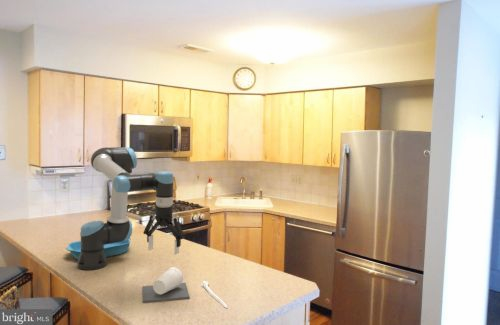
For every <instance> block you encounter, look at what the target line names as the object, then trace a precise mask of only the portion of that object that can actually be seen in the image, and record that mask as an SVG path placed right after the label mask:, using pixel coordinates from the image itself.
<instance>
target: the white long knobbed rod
mask: <svg viewBox="0 0 500 325" xmlns="http://www.w3.org/2000/svg"><path fill="white" fill-rule="evenodd" d="M209 285H210V282H209V281H208V280H203V281H202V282H201V283H200V287H201V288H204V289H205V291H206V292H207V293H208V294H209V296H211V297H212V298H213V299H214V300H215V301H217V302H218V303H219V304H220V305H221V306H222V307H223V308H225V309H228V305H227V304H226V303H225V301H224V300H222V299H221V297H219V296H218V295H217V294H216V293H214V292H213V290H212V289H211V288H210V287H209Z"/></svg>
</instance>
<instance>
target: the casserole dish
mask: <svg viewBox="0 0 500 325" xmlns="http://www.w3.org/2000/svg"><path fill="white" fill-rule="evenodd" d="M130 244H131V237H130V238H129V239H128V240H127V241H123V242H117V243H111V244H105V245H104V252H105V255H106V258H108V257H109V258H110V257H113V256H119V255H121V254H124V253H126V252H127V251H128V250H129V248H130ZM65 249H66V251H68V252H70V255H71V256H73V258H75V260H77V261H78V259H79V256H80V253H81V240H76V241H71V242H69V243H68V246H66V247H65Z"/></svg>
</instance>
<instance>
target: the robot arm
mask: <svg viewBox="0 0 500 325" xmlns="http://www.w3.org/2000/svg"><path fill="white" fill-rule="evenodd" d="M90 164H91V167H92V168H93V169H94V170H95V171H96V172H97V173H98V172H99V173H101V174H103V175H104V176H105V177H107V179H109V180H110V181H111V193H110V194H111V195H110V212H109V216H108V217H107V218H106V222H104V221H103V220H93V221H88V222H86V223H84V224H83V225H81V227H80V234H79V235H80V236H79V237H80V241H81V253H80V256H79V259H78V260H77V265H76V266H77V269H79V270H84V271H94V270H99V269H102V268H105V267H106V266H107V265H108V257H106V255H105V252H104V245H105V244H111V243H117V242H123V241H127V240H128V239H129V238H131V237H132V235H133V223H132V221H131V220H130V219H129V217H128V216H127V211H128V197H129V196H128V193H133V192H143V191H155V214H150V215H149V220H148V221H147V223H146V226H145V227H144V229H143V234H144V235H146V241H147V245H148V247H147V248H148V251H152V250H154V234H153V233H154V232H155V231H156V230H157V229H158V227H165V228H166V227H167V229H169V230H170V232H171V234H172V236H174V251H173V252H174V255H178V254H180V247H181V245H182V241H181V240H183V239H185V233H184V231H183V229H182V226H181V224H180V219H179V217H178V216H176V217H173V213H174V211H173V210H174V207H173V204H174V173H173V171H172V172H171V171H167V170H165V171H164V170H163V171H161V170H159V171H157V172H156V173H155V172H148V173H147V172H146V173H143V174H133V169H135V168H136V167H137V165H138V159H137V154H136V152H135V150H134V149H133V148H131V147H124V146H121V147H119V146H118V147H117V146H116V147H112V146H111V147H100V148H98V149H97V150H94V152H93V153H92V155H91V157H90ZM154 221H156V222H155V223H154ZM153 224H154V225H153ZM152 225H153V226H152Z"/></svg>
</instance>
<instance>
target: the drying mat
mask: <svg viewBox="0 0 500 325" xmlns="http://www.w3.org/2000/svg"><path fill="white" fill-rule="evenodd" d="M179 300H190V293H189V291H188V286H187V283H186V282H182V284H181V285H180V286H179V287H177V288H175V289H172V290H170V291H168V292H166V293H163V294H157V293H156V292H155V291H154V288H153V284H152V285H142V304H146V303H147V304H148V303H158V302H168V301H169V302H171V301H179Z"/></svg>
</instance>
